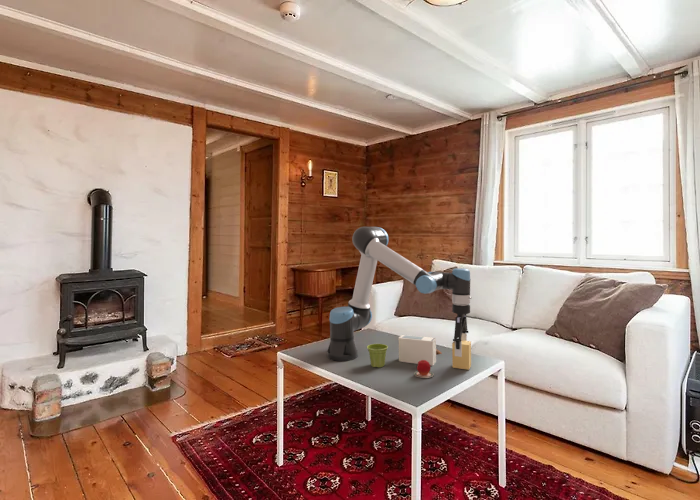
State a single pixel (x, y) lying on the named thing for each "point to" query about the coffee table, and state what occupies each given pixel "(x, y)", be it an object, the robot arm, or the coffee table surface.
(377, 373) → the coffee table surface
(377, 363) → the plant pot
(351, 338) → the robot arm
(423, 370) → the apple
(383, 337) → the coffee table surface
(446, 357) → the coffee table surface
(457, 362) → the stub
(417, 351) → the white box
